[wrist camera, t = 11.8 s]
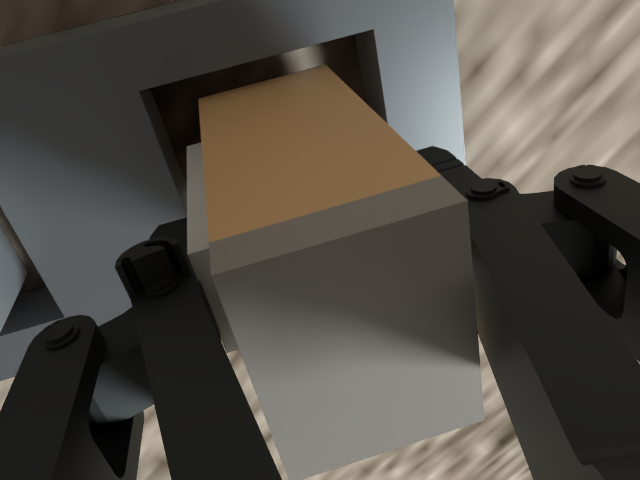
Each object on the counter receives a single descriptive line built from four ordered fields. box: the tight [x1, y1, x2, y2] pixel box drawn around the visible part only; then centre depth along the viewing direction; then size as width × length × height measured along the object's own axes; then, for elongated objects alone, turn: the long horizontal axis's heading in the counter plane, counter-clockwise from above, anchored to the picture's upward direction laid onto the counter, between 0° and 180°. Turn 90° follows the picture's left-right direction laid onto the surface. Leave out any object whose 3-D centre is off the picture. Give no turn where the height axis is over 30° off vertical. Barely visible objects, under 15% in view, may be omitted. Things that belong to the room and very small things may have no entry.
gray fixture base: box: [0, 0, 466, 381], centre depth 16 cm, size 24×10×8 cm, turn 102°
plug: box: [198, 65, 484, 480], centre depth 14 cm, size 4×5×10 cm
